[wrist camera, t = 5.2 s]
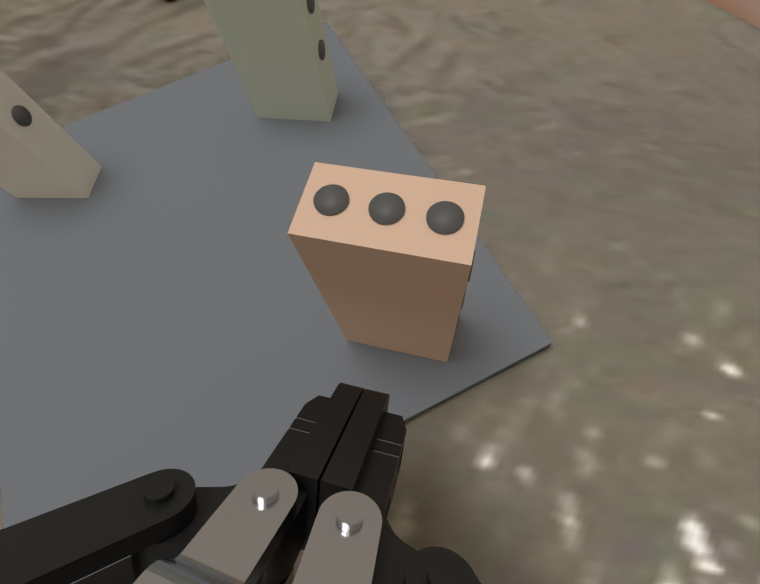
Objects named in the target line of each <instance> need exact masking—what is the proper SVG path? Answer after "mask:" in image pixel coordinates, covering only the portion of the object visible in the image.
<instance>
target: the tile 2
mask: <svg viewBox="0 0 760 584" xmlns="http://www.w3.org/2000/svg"><path fill="white" fill-rule="evenodd" d="M204 2H205V4H206V6H207V8H208V11H209V13H210V15H211V17H212V19H213V22H214V24H215V26H216V28H217V30H218V32H219V35H220V37H221V39H222V41H223V43H224V46H225V48H226V50H227V52H228V54H229V56H230V59H231V61H232V63H233V65H234V67H235V70H236V72H237V74H238V76H239V78H240V80H241V83H242V85H243V87H244V89H245V91H246V94H247V96H248V98H249V100H250V102H251V104H252V107H253V109H254V111H255V113H256V115H257V118H270V119H290V120H310V121H330V122H331V118H332V114H333V111H334V107H335V103H336V100H337V96H338V91H337V86H336V81H335V77H334V72H333V67H332V63H331V58H330V53H329V49H328V44H327V40H326V35H325V30H324V26H323V21H322V16H321V12H320V7H319V2H318V0H204Z"/></svg>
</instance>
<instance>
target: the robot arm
mask: <svg viewBox="0 0 760 584" xmlns="http://www.w3.org/2000/svg"><path fill="white" fill-rule="evenodd" d="M388 405H389V394H386V393H382V392H378V391H374V390H369V389H365V390H364V388H361V387H357V386H353V385H349V384H345V383H339V384H338V386H337V387H336V389H335V391H334V393H333V394H332V396H331V398H328V397H324V396H320V395H318V396H317V397H315V398H314V399H312V400H310V401H309V402H307V403H306V404H305V405H304V406H303V408H302V409H301V411H300V412H299V414H298V415H297V418H296V419H295V420H294V421H293V423H292V424H291V426H290V428H289V429H288V430H287V431H286V433H285V434H284V436H283V437H282V439H281V440H280V442H279V443H278V445H277V446H276V448H275V449H274V451H273V452H272V454H271V455H270V457H269V458H268V460H267V461H266V463H265V464H264V466H263V467H262V468H261V469H260V470H257V471H255V472H252V473H250V474H249V475H247V476H246V477H244V478H243V479H242V480H241V481H240V482H239V483H238V484H236V485H232V486H225V487H196V486H195V481H194V479H193V477H192V476H191V475H190V474H189V473H187V472H186V471H183V470H180V469H163V470H158V471H155V472H152V473H149V474H147V475H144V476H141V477H139V478H136V479H134V480H131V481H128V482H126V483H123V484H120V485H118V486H115V487H112V488H110V489H107V490H105V491H102V492H99V493H97V494H94V495H91V496H89V497H86V498H83V499H81V500H78V501H76V502H73V503H70V504H68V505H65V506H62V507H60V508H57V509H54V510H52V511H49V512H47V513H44V514H41V515H39V516H36V517H33V518H31V519H28V520H25V521H23V522H20V523H18V524H15V525H12V526H10V527H7V528H4V529H2V530H0V584H71V583H73V582H75V581H77V580H79V581H77V582H75V583H73V584H292V582H293V584H481V583H480V581H479V580H478V578H477V576H476V575H475V573H474V572H473V570H472V569H471V567H470V566H469V564H468V563H467V562H466V561H465V560H464V559H463V558H462V557H460V556H459V555H458V554H456V553H455V552H453V551H451V550H448V549H446V548H442V547H428V548H424V549H422V550H420V551H418V552H417V551H416V550H414V549H413V548H411V547H410V546H409V545H407V544H406V543H404V542H403V541H402V540H401V539H399V538H398V537H397V535H396V534H395V533H394V532H393V530H392V529H391V527H390V525H389V523H388V520H387V517H388V514H389V510H390V506H391V502H392V498H393V494H394V490H395V486H396V482H397V479H398V475H399V471H400V465H401V459H402V453H403V447H404V441H405V436H406V427H405V423H404V420H403V416H400V415H396V414H392V413H388ZM301 549H303V550H304V553H303V556H302V559H301V562H300V564H299V567H298V570H297V573H296V576H295V579H294V581H293V578H294V566H295V561H296V559H297V557H298V555H299V552H300V550H301ZM128 556H130V557H128ZM126 557H127V558H126ZM124 558H125V559H124ZM122 559H123V560H122ZM120 560H121V561H120ZM117 561H119V562H117ZM115 562H117V563H115ZM113 563H115V564H113ZM111 564H113V565H111ZM109 565H111V566H109ZM107 566H109V567H107ZM105 567H107V568H105ZM103 568H104V569H103ZM101 569H102V570H101ZM99 570H100V571H99ZM96 571H98V572H96ZM94 572H96V573H94ZM92 573H94V574H92ZM90 574H92V575H90ZM88 575H90V576H88ZM86 576H88V577H86ZM84 577H86V578H84ZM82 578H83V579H82ZM80 579H81V580H80Z"/></svg>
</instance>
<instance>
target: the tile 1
mask: <svg viewBox="0 0 760 584" xmlns="http://www.w3.org/2000/svg"><path fill="white" fill-rule="evenodd" d="M101 167H102V166H101V165H100V164H99V163H98V162H97V161H96V160H95V159H94V158H93V157H91V156H90V155H89V154H88V153H87V152H86V151H85V150H84V149H83V148H82V147H81V146H80V145H79V144H78V143H77V142H76V141H75V140H74V139H73V138H72V137H71V136H70V135H69V134H68V133H66V132H65V131H64V130H63V129H62V128H61V127H60V126H59V125H58V124H57V123H56V122H55V121H54V120H53V119H52V118H51V117H50V116H49V115H48V114H47V113H46V112H45V111H44V110H42V109H41V108H40V107H39V106H38V105H37V104H36V103H35V102H34V101H33V100H32V99H31V98H30V97H29V96H28V95H27V94H26V93H25V92H24V91H23V90H22V89H21V88H20V87H19V86H17V85H16V84H15V83H14V82H13V81H12V80H11V79H10V78H9V77H8V76H7V75H6V74H5V73H4V72H3V71H2V70H1V69H0V187H1V188H3V189H4V190H6V191H7V192H9V193H10V194H12V195H13V196H15V197H16V198H89V195H90V193H91V191H92V188H93V186H94V184H95V181H96V179H97V177H98V174H99V172H100V170H101Z"/></svg>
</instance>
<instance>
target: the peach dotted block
mask: <svg viewBox="0 0 760 584" xmlns="http://www.w3.org/2000/svg"><path fill="white" fill-rule="evenodd" d="M485 188H486V186H483V185H476V184H468V183H461V182H454V181H447V180H440V179H433V178H425V177H418V176H411V175H404V174H397V173H390V172H382V171H375V170H368V169H361V168H354V167H347V166H339V165H332V164H325V163H318V162H315V163H314V166H313V168H312V171H311V174H310V176H309V179H308V181H307V184H306V186H305V189H304V192H303V194H302V197H301V199H300V202H299V205H298V207H297V210H296V212H295V215H294V218H293V220H292V223H291V225H290V228H289V231H288V235H289V237H290V239H291V241H292V242H293V244H294V246H295V248H296V250H297V251H298V253H299V255H300V257H301V259H302V260H303V262H304V264H305V266H306V268H307V269H308V271H309V273H310V275H311V277H312V278H313V280H314V282H315V284H316V286H317V287H318V289H319V291H320V293H321V295H322V296H323V298H324V300H325V302H326V304H327V305H328V307H329V309H330V311H331V313H332V314H333V316H334V318H335V320H336V322H337V323H338V325H339V327H340V329H341V331H342V332H343V334H344V336H345V338H346V340H347V341H352V342H357V343H361V344H366V345H370V346H375V347H379V348H384V349H389V350H393V351H398V352H402V353H407V354H412V355H416V356H421V357H425V358H430V359H434V360H439V361H444V362H447V360H448V357H449V353H450V349H451V345H452V341H453V337H454V333H455V329H456V328H457V326H458V322H459V317H460V311H461V308H462V307H463V303H464V298H465V293H466V288H467V282H469V281H470V277H471V272H472V267H473V262H474V256H475V251H474V249H475V243H476V238H477V232H478V227H479V221H480V216H481V210H482V205H483V199H484V194H485Z"/></svg>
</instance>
